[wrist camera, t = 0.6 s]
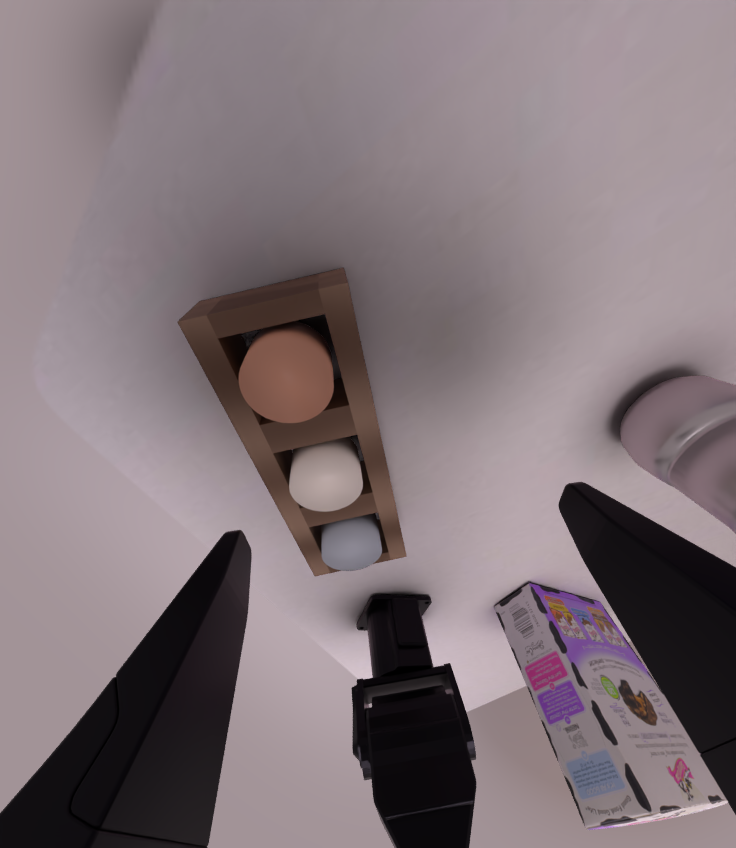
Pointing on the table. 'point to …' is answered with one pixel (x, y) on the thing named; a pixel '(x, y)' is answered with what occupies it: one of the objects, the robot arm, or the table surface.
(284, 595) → the table surface
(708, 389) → the plastic bottle
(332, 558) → the button grey
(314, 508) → the button cream
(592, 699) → the candy box
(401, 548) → the button panel
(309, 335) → the button terracotta
